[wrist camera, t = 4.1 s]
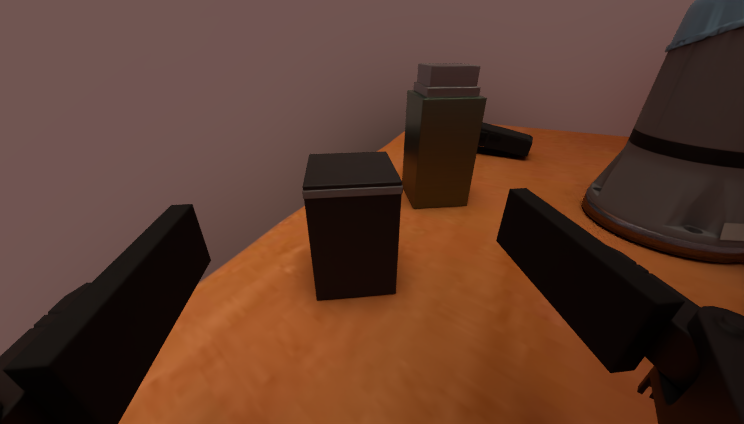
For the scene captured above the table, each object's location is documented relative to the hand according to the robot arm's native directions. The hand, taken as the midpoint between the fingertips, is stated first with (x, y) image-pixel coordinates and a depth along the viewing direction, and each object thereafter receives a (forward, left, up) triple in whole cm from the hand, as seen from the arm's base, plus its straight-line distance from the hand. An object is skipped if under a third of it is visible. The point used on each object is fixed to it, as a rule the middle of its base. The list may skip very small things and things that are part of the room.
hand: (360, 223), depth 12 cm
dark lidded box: (-2, -10, -11) cm, 15 cm away
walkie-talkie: (-33, -38, -11) cm, 51 cm away
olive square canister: (-16, -22, -11) cm, 29 cm away
